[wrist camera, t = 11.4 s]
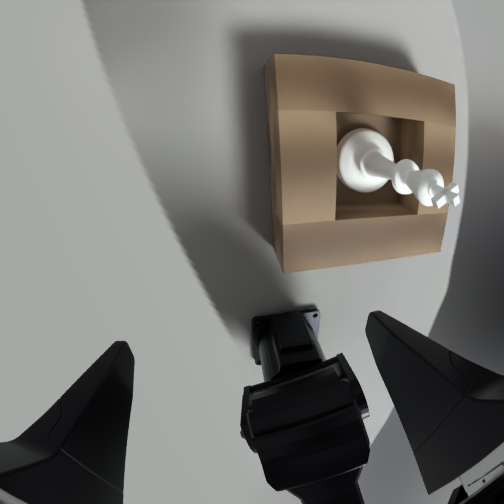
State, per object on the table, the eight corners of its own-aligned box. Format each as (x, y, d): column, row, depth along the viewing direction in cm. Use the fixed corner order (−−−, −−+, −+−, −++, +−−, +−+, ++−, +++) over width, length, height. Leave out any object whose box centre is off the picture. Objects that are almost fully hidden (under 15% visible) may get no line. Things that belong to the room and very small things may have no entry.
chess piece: (322, 148, 18) (405, 181, 10) (373, 117, 18) (473, 131, 9) (352, 203, 20) (431, 267, 12) (398, 171, 20) (490, 215, 11)
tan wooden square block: (415, 232, 24) (439, 251, 20) (273, 247, 23) (283, 273, 19) (423, 85, 17) (454, 84, 14) (263, 66, 16) (274, 54, 13)
